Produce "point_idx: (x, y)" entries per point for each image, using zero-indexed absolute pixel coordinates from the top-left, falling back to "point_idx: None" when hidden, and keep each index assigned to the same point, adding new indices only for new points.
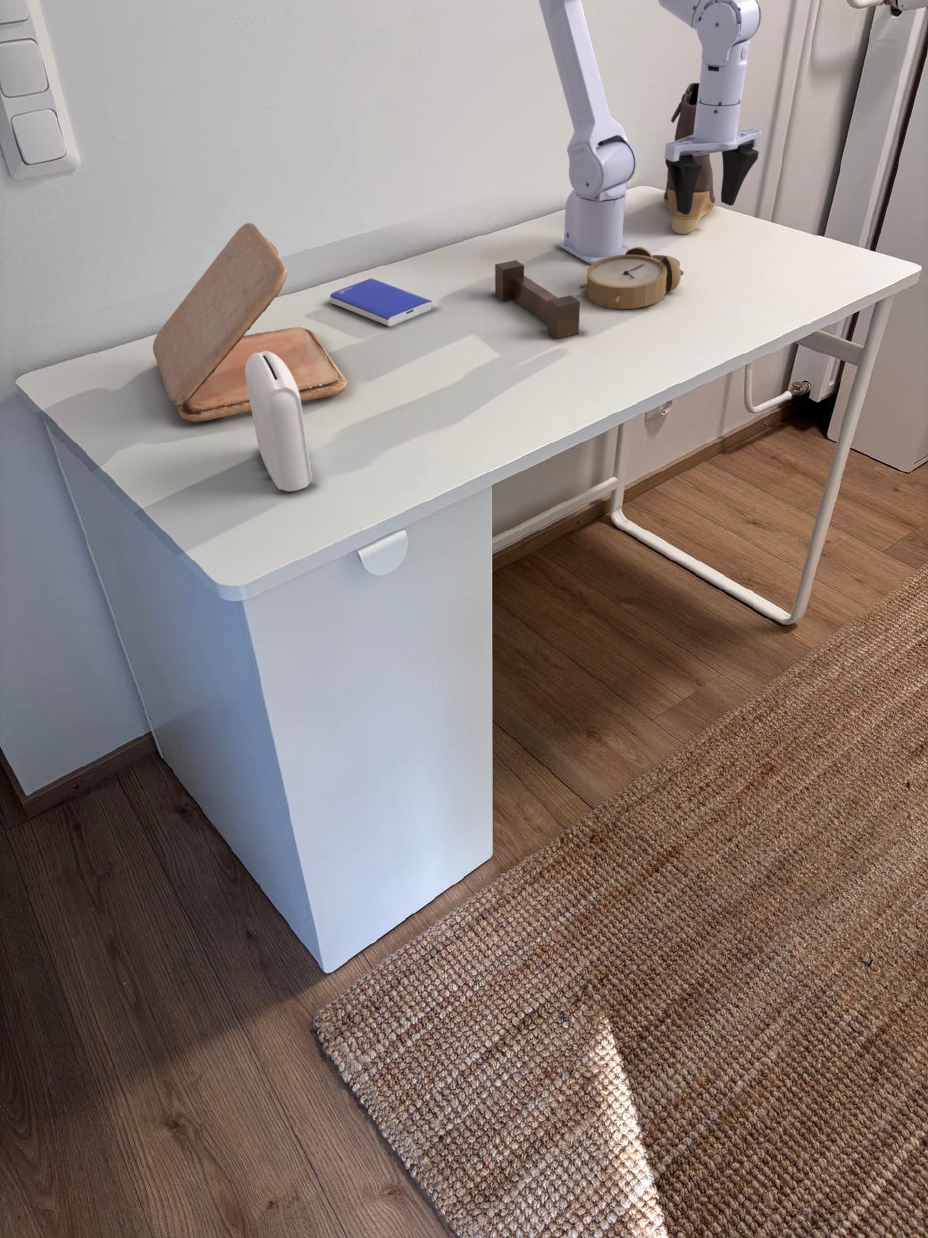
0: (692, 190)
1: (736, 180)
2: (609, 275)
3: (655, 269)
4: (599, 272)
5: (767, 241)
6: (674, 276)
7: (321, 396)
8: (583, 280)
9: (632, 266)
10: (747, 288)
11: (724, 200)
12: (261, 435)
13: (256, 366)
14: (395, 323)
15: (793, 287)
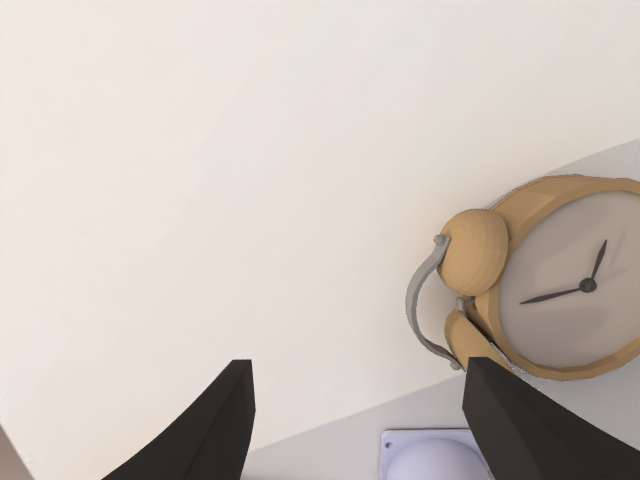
0: (560, 423)
1: (211, 442)
2: (618, 300)
3: (516, 264)
4: (621, 327)
5: (64, 370)
6: (491, 213)
7: None
8: None
9: (544, 313)
10: (274, 157)
11: (252, 401)
12: None
13: None
14: None
15: (163, 103)
